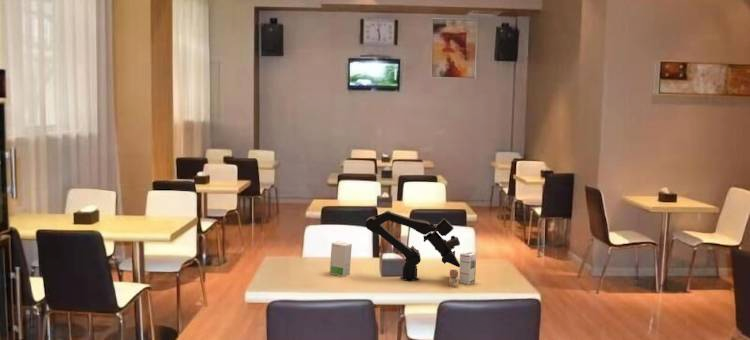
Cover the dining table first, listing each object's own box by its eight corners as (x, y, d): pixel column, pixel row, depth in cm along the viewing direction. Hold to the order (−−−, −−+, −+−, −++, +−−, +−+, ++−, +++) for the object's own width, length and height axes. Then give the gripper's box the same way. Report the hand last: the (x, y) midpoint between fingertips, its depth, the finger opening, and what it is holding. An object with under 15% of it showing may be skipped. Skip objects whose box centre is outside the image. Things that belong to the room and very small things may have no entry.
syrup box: (469, 285, 329) (471, 255, 328) (458, 282, 333) (459, 253, 331) (475, 282, 334) (476, 253, 332) (464, 280, 337) (465, 251, 336)
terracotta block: (449, 279, 338) (450, 271, 338) (449, 277, 342) (450, 269, 341) (457, 280, 338) (458, 271, 337) (457, 278, 341) (458, 269, 341)
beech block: (449, 286, 325) (449, 278, 325) (449, 284, 329) (449, 275, 329) (457, 287, 325) (458, 278, 324) (457, 285, 329) (458, 276, 328)
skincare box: (329, 274, 339) (330, 243, 337) (336, 271, 345) (337, 240, 343) (344, 277, 335) (345, 245, 333) (351, 274, 341) (352, 242, 339)
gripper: (450, 235, 322) (472, 260, 322) (451, 227, 341) (472, 251, 341) (432, 251, 324) (454, 275, 324) (433, 242, 343) (455, 265, 343)
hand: (459, 266), depth 333 cm, fingers closed
